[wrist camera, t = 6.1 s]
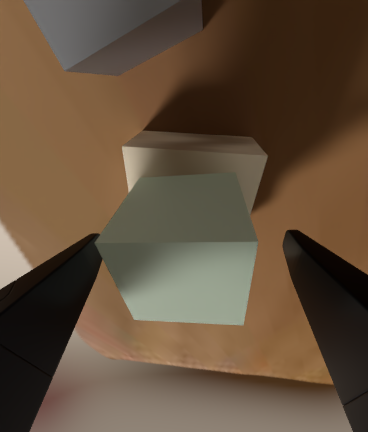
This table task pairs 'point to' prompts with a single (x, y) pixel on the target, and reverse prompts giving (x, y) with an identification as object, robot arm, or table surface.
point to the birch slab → (195, 158)
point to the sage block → (182, 249)
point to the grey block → (113, 30)
